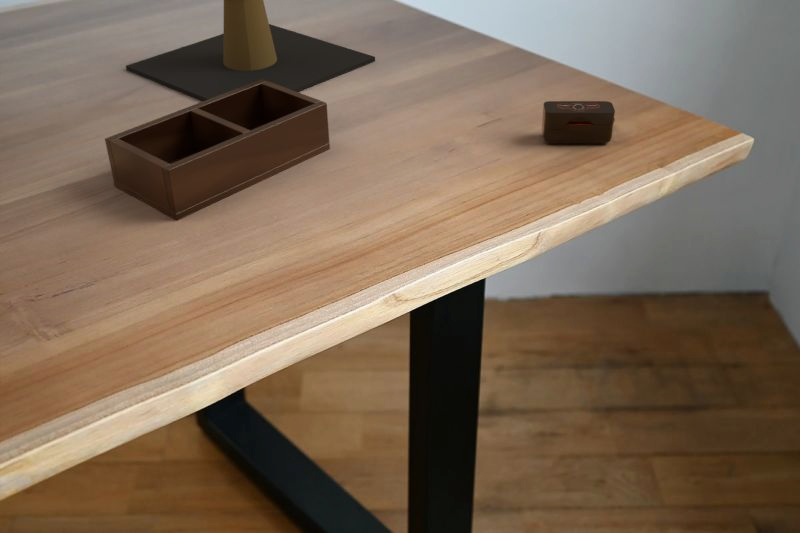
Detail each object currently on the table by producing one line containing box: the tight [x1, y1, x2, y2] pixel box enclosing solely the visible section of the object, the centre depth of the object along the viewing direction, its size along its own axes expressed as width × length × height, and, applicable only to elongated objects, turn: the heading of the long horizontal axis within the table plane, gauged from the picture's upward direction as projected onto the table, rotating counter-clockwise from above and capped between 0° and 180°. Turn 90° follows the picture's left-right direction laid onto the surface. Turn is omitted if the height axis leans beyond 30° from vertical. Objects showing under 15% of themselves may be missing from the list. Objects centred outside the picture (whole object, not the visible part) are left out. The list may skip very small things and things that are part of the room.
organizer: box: [104, 79, 331, 221], centre depth 81 cm, size 9×17×5 cm, turn 138°
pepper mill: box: [223, 0, 277, 71], centre depth 100 cm, size 6×6×11 cm
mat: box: [125, 23, 376, 102], centre depth 103 cm, size 20×20×1 cm
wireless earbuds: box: [541, 100, 616, 144], centre depth 85 cm, size 5×7×3 cm, turn 88°
